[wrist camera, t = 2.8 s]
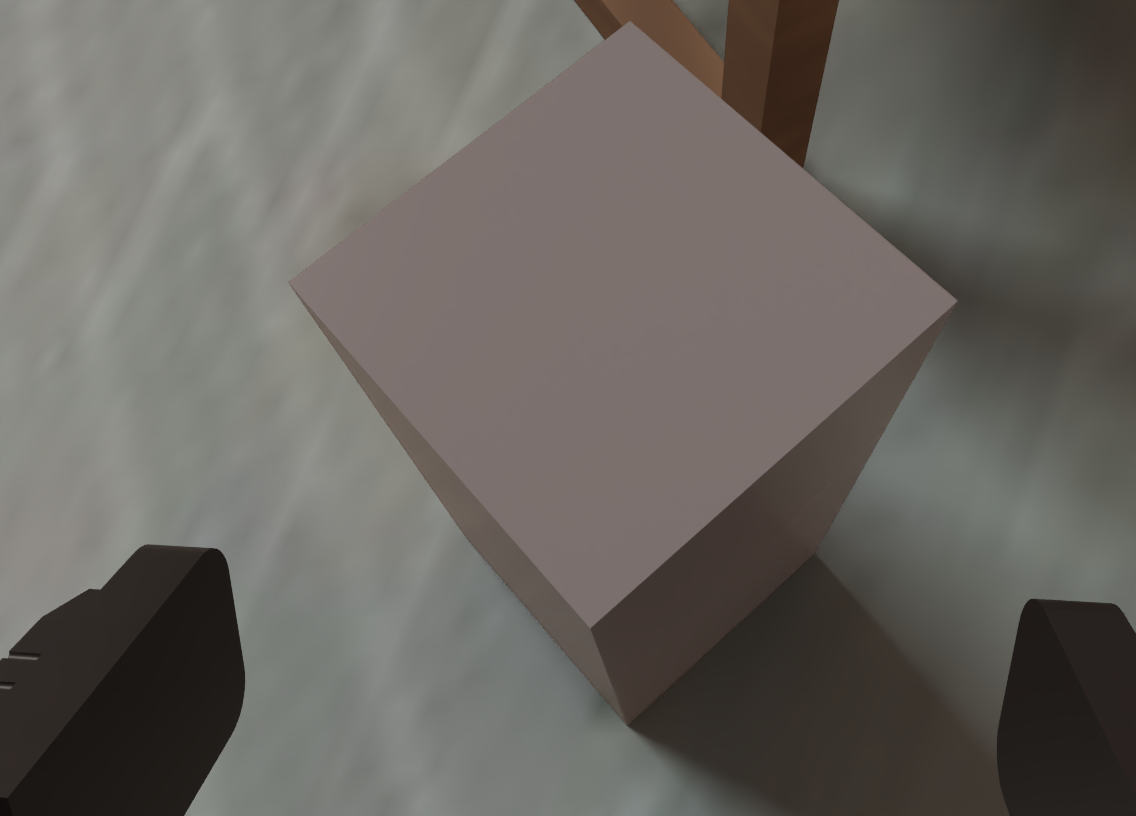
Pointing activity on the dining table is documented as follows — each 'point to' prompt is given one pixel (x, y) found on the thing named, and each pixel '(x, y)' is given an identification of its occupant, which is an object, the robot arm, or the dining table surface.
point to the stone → (630, 356)
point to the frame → (744, 57)
